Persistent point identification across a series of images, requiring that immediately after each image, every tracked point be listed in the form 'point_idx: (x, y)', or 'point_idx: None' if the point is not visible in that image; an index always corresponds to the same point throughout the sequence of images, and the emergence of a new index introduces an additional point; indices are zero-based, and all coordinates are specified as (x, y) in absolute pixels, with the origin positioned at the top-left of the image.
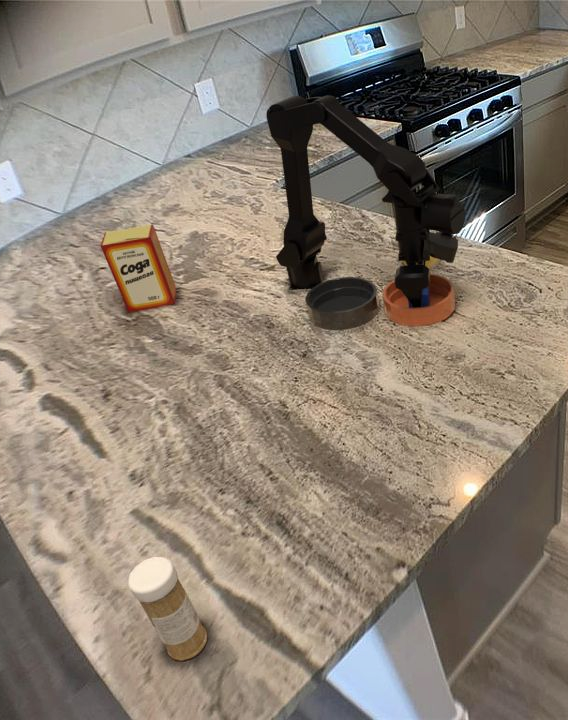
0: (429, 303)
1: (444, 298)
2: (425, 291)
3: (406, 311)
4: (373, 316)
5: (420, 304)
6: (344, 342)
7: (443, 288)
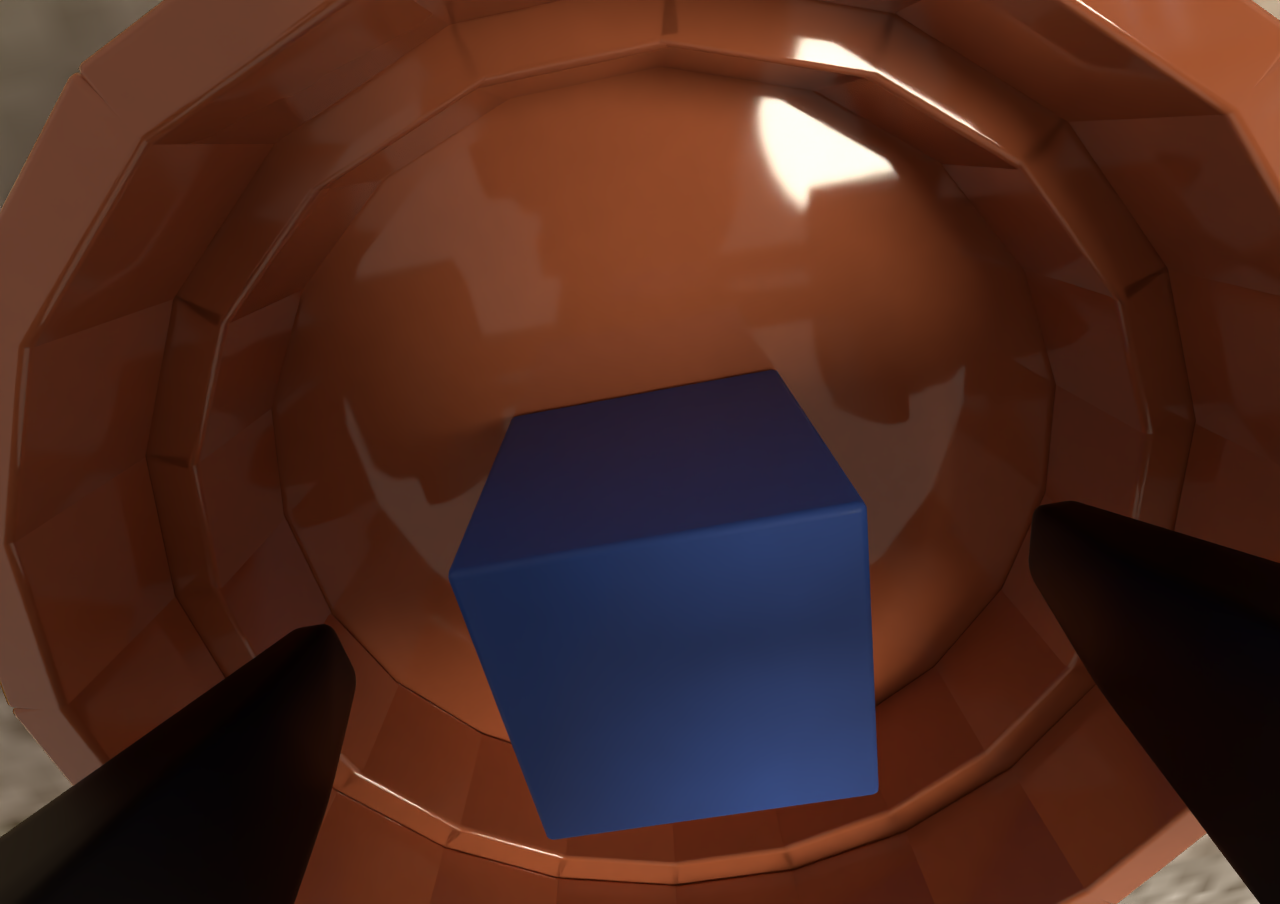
0: (651, 409)
1: (384, 226)
2: (742, 568)
3: None
4: None
5: (1190, 542)
6: (1173, 897)
7: (256, 269)
